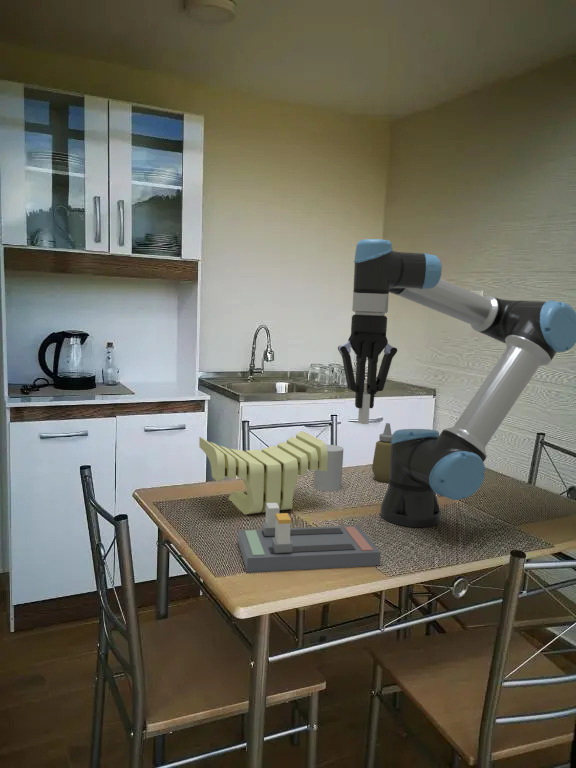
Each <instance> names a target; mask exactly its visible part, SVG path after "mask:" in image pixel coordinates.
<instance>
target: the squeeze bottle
mask: <svg viewBox="0 0 576 768" xmlns="http://www.w3.org/2000/svg"><path fill="white" fill-rule="evenodd" d="M392 437H393V433H392V429H391V423H390V422H389V423H388V422H387V423H386V422H385V426H384V430H383V433H380V434H379V440H378V441H376V442H375V447H374V448H375V449H374V455H373V459H372V464H371V466H372V467H371V469H372V473H373V477H374V479H375V480H376V481H377V482H380V483H389V479H390V462H391V442H392Z"/></svg>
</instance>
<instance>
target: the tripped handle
mask: <svg viewBox="0 0 576 768" xmlns="http://www.w3.org/2000/svg"><path fill="white" fill-rule="evenodd" d="M275 517H276V523H275V538H272V548H273V550H274V552H275V553H288V552H292V545H293V544H292V542H291V540H290V528H291V524H292V519H291V517H290V515H289V514H288V512H285V513H283V512H279V513H277V514H276V516H275Z"/></svg>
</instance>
